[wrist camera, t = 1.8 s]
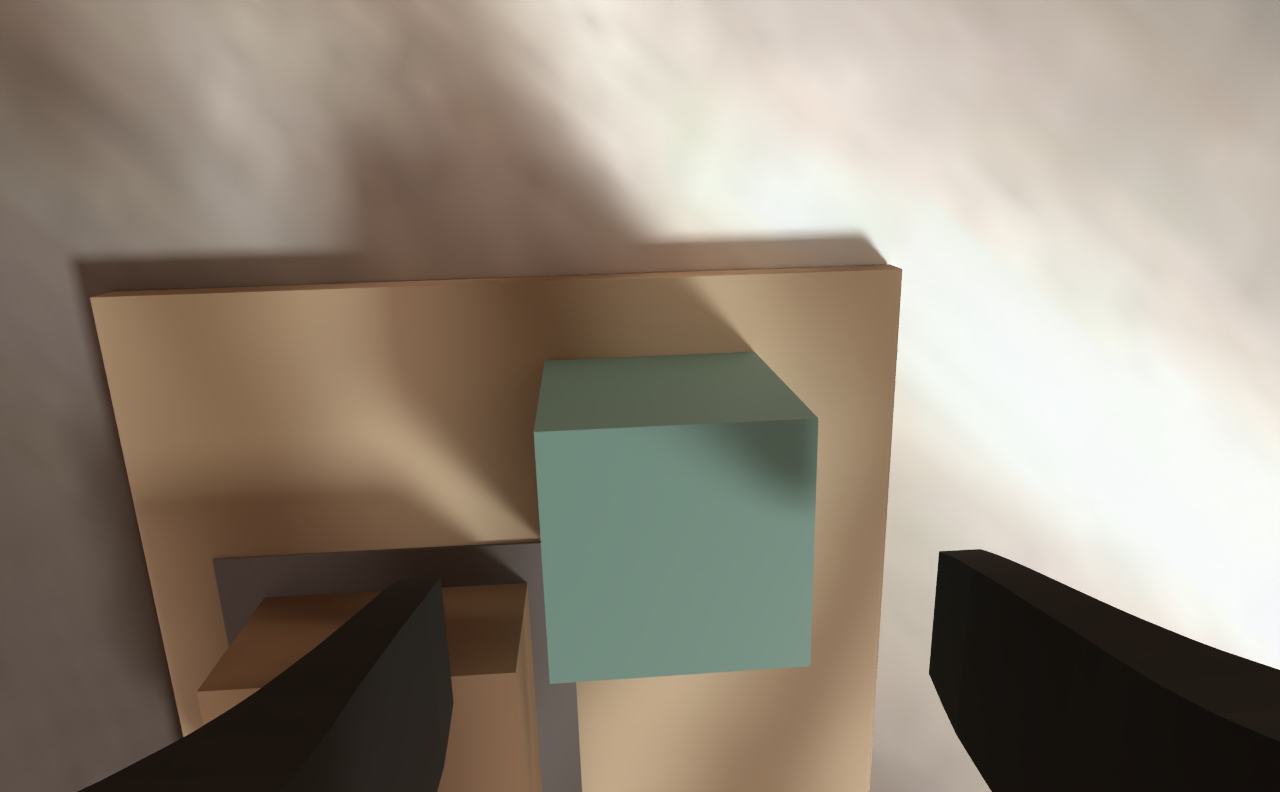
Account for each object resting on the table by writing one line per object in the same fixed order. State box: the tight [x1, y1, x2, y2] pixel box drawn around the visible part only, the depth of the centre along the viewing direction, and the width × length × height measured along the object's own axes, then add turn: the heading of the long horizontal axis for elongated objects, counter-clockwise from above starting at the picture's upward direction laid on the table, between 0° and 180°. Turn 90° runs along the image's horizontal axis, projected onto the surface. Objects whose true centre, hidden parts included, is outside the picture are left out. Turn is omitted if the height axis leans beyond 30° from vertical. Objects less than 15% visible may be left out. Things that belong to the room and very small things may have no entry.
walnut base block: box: [197, 583, 542, 792], centre depth 18 cm, size 6×6×4 cm
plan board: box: [90, 265, 902, 792], centre depth 20 cm, size 17×15×1 cm
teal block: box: [534, 352, 818, 684], centre depth 16 cm, size 5×5×5 cm
